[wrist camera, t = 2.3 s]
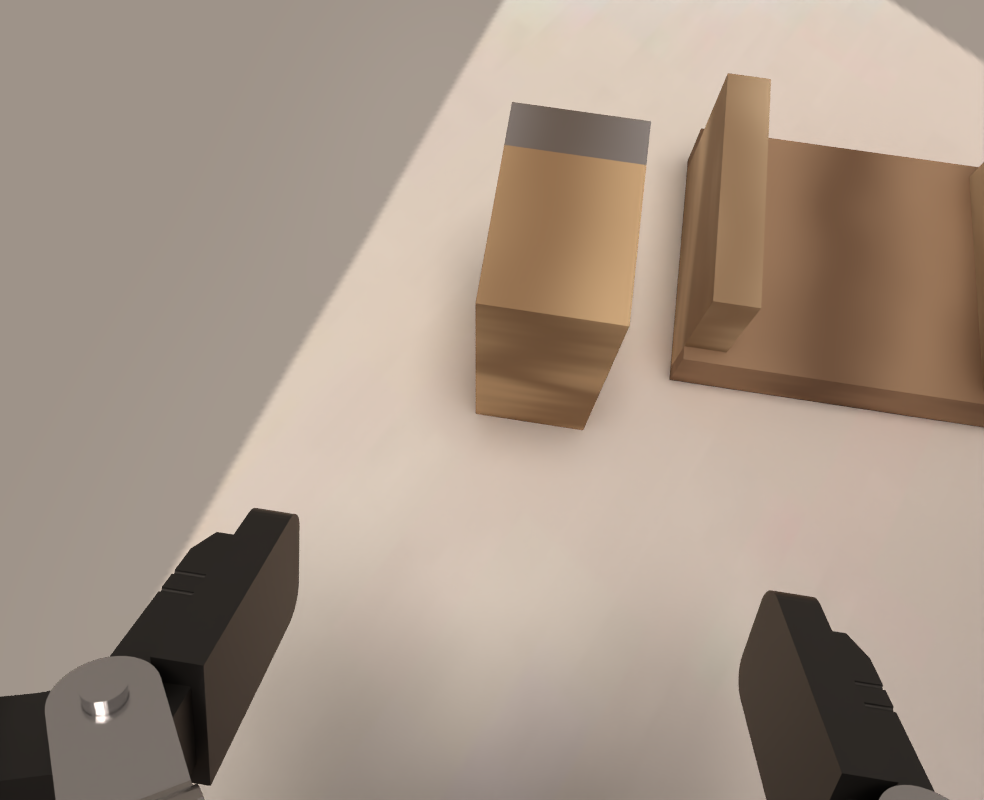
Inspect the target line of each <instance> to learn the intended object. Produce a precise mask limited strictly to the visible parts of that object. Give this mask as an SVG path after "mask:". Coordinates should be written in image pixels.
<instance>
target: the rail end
mask: <svg viewBox="0 0 984 800" xmlns="http://www.w3.org/2000/svg"><path fill="white" fill-rule="evenodd" d="M650 125H651V121H644V120H637V119H629V118H622V117H615V116H608V115H601V114H594V113H587V112H580V111H572V110H565V109H558V108H551V107H544V106H537V105H530V104H523V103H516V102H512V106H511V111H510V117H509V122H508V128H507V133H506V139H505V144H504V150H503V155H502V161H501V166H500V172H499V177H498V183H497V188H496V194H495V199H494V205H493V210H492V216H491V221H490V227H489V232H488V238H487V243H486V249H485V254H484V260H483V265H482V271H481V276H480V282H479V287H478V293H477V298H476V414H482V415H488V416H495V417H501V418H508V419H514V420H521V421H527V422H534V423H540V424H547V425H553V426H560V427H566V428H572V429H579V430H583V429H584V427H585V425H586V422H587V420H588V418H589V416H590V413H591V411H592V409H593V407H594V404H595V402H596V400H597V398H598V396H599V393H600V391H601V389H602V387H603V384H604V382H605V380H606V378H607V375H608V373H609V371H610V369H611V366H612V364H613V362H614V360H615V357H616V355H617V353H618V351H619V348H620V346H621V344H622V342H623V339H624V337H625V335H626V333H627V330H628V328H629V325H630V315H631V306H632V296H633V287H634V277H635V268H636V258H637V249H638V239H639V230H640V220H641V211H642V201H643V192H644V182H645V173H646V163H647V154H648V144H649V134H650Z"/></svg>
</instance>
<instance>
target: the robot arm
mask: <svg viewBox="0 0 984 800" xmlns="http://www.w3.org/2000/svg"><path fill="white" fill-rule="evenodd" d="M298 586H299V518H298V516H297V515H296V514H290V513H284V512H278V511H271V510H265V509H259V508H253V509H252V510H251V511H250V512H249V513H248V515H247V516H246V518H245V519H244V521H243V522H242V523H241V525H240V526H239V528H238V529H237V531H236V532H235V534H234V535H232V534H226V533H219V532H216V533H214V534H213V535H211V536H210V537H208V538H207V539H205V540H204V541H202V542H200V543H199V544H197V545H196V546H194V547H193V548H191V549H190V550H189V552H188V553H187V554H186V556H185V557H184V558H183V560H182V561H181V562H180V564H179V565H178V566H177V568H176V569H175V573H174V574H171V576H170V577H169V578H168V580H167V581H166V582H165V584H164V585H163V586H162V590H161V592H158V593H157V594H156V596H155V597H154V598H153V600H152V601H151V602H150V604H149V605H148V606H147V608H146V609H145V610H144V612H143V613H142V614H141V616H140V617H139V618H138V620H137V621H136V622H135V624H134V625H133V626H132V628H131V629H130V630H129V632H128V633H127V634H126V636H125V637H124V638H123V640H122V641H121V642H120V644H119V645H118V646H117V648H116V649H115V650H114V652H113V653H112V654H111V656H110V657H105V658H101V659H97V660H94V661H91V662H88V663H86V664H84V665H81V666H79V667H77V668H76V669H74V670H72V671H71V672H69V673H68V674H67V675H65V676H64V677H63V678H62V679H61V680H60V681H59V682H58V683H57V684H56V685H55V686H54V688H53V689H52V690H51V691H47V692H41V693H34V694H24V695H14V696H4V697H0V800H204V797H203V794H202V792H201V789H200V787H199V785H198V784H203V785H208V786H211V784H212V782H213V780H214V778H215V776H216V774H217V771H218V769H219V767H220V765H221V763H222V761H223V759H224V757H225V755H226V753H227V751H228V749H229V747H230V745H231V743H232V741H233V739H234V736H235V734H236V732H237V730H238V728H239V726H240V724H241V722H242V720H243V718H244V716H245V714H246V712H247V710H248V708H249V706H250V704H251V701H252V699H253V697H254V695H255V693H256V691H257V689H258V687H259V685H260V683H261V681H262V679H263V677H264V675H265V673H266V671H267V668H268V666H269V664H270V662H271V660H272V658H273V656H274V654H275V652H276V650H277V648H278V646H279V644H280V642H281V640H282V638H283V636H284V633H285V631H286V629H287V627H288V625H289V623H290V621H291V618H292V616H293V612H294V609H295V605H296V601H297V595H298ZM882 686H883V684H882V682H881V680H880V678H879V676H878V674H877V672H876V670H875V668H874V666H873V664H872V662H871V660H870V658H869V657H868V656H867V655H866V654H865V653H864V652H863V651H862V650H861V649H860V648H859V646H858V645H857V644H856V643H855V642H854V641H853V640H852V639H851V638H850V637H849V636H848V635H847V634H846V633H840V632H834V631H832V630H831V628H830V625H829V623H828V621H827V619H826V616H825V614H824V612H823V610H822V607H821V605H820V603H819V601H818V600H817V599H816V598H814V597H809V596H803V595H796V594H790V593H784V592H777V591H771V590H770V591H767V592H766V593H765V595H764V596H763V598H762V601H761V604H760V607H759V609H758V612H757V615H756V618H755V621H754V624H753V627H752V629H751V632H750V635H749V638H748V641H747V644H746V647H745V649H744V652H743V655H742V658H741V662H740V668H739V694H740V699H741V703H742V706H743V710H744V714H745V718H746V722H747V726H748V730H749V734H750V738H751V741H752V745H753V749H754V753H755V757H756V761H757V765H758V769H759V772H760V776H761V780H762V784H763V788H764V792H765V796H766V800H949V799H947V798H945V797H943V796H942V795H940V794H938V793H935V792H934V790H933V787H932V785H931V783H930V781H929V779H928V777H927V775H926V773H925V771H924V769H923V767H922V765H921V763H920V761H919V759H918V757H917V754H916V752H915V750H914V748H913V746H912V744H911V742H910V740H909V738H908V736H907V734H906V732H905V730H904V728H903V726H902V724H901V721H900V719H899V717H898V715H897V713H896V712H893V705H892V703H891V701H890V699H889V697H888V695H887V693H886V691H885V690H883V689H882ZM192 783H197V784H195V785H193V784H192Z"/></svg>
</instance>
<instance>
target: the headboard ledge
mask: <svg viewBox="0 0 984 800" xmlns="http://www.w3.org/2000/svg"><path fill="white" fill-rule="evenodd" d="M770 86H771V79H766V78H758V77H751V76H744V75H736V74H729V73H728V74H727V77H726V79H725V82H724V84H723V86H722V89H721V91H720V93H719V96H718V98H717V101H716V103H715V105H714V108H713V110H712V112H711V115H710V117H709V120H708V122H707V124H706V127H705V129H701V130H700V133H699V135H698V137H697V140H696V142H695V145H694V147H693V150H692V152H691V154H690V157H689V159H688V167H687V178H686V190H685V202H684V214H683V226H682V238H681V250H680V262H679V274H678V286H677V298H676V310H675V322H674V334H673V346H672V358H671V370H670V380H677V381H683V382H690V383H697V384H703V385H710V386H716V387H723V388H730V389H736V390H743V391H749V392H756V393H763V394H769V395H776V396H782V397H789V398H796V399H802V400H809V401H815V402H822V403H829V404H835V405H842V406H848V407H855V408H862V409H868V410H875V411H882V412H888V413H895V414H901V415H908V416H915V417H921V418H928V419H934V420H941V421H948V422H954V423H961V424H967V425H974V426H981V427H984V163H983V164H982V165H981V166H980V167H972V166H965V165H958V164H951V163H944V162H936V161H929V160H922V159H915V158H908V157H901V156H894V155H886V154H879V153H872V152H865V151H858V150H851V149H844V148H836V147H829V146H822V145H815V144H808V143H801V142H794V141H786V140H779V139H772V138H768V134H769V110H770Z"/></svg>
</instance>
